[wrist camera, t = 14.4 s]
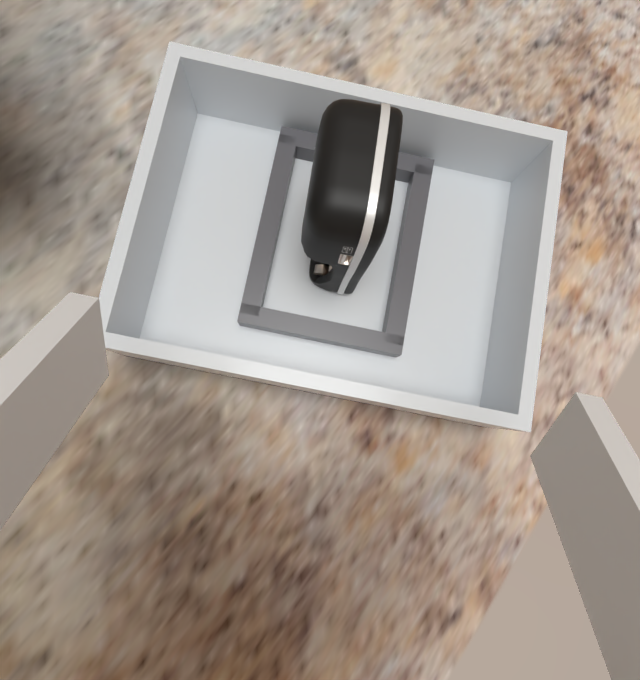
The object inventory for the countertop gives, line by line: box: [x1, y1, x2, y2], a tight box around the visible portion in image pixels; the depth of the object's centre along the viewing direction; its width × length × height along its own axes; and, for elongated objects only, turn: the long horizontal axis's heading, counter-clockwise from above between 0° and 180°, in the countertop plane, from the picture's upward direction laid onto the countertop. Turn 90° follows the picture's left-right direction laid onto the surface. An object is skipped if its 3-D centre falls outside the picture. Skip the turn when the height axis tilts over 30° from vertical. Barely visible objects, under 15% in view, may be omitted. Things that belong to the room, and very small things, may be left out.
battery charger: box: [301, 99, 403, 295], centre depth 25 cm, size 7×4×11 cm, turn 171°
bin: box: [99, 41, 567, 432], centre depth 29 cm, size 24×18×6 cm
